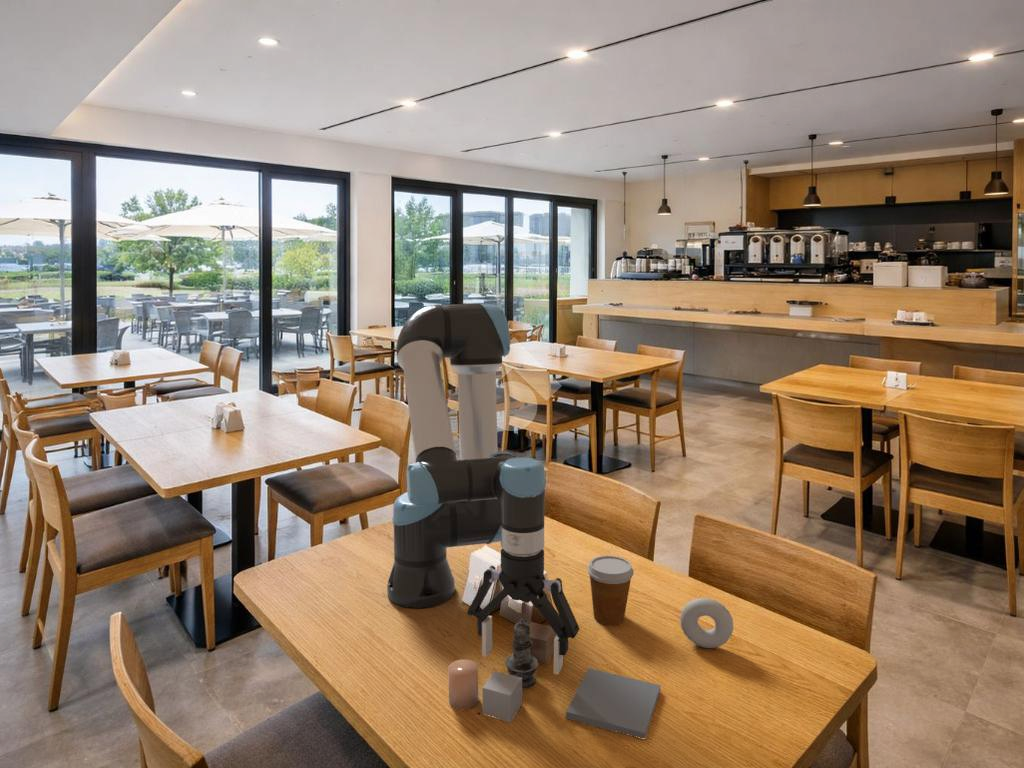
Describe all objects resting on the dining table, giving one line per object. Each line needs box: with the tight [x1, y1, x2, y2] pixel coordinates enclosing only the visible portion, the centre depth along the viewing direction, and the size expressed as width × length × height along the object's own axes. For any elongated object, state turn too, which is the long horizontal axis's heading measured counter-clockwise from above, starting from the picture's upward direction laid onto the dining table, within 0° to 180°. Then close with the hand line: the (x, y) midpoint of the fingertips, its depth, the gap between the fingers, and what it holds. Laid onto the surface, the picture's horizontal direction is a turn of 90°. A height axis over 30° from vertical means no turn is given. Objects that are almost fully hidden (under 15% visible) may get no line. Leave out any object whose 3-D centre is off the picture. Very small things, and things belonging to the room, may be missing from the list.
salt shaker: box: [504, 618, 539, 690], centre depth 118 cm, size 6×6×12 cm
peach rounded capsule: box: [447, 659, 479, 710], centre depth 113 cm, size 5×5×6 cm
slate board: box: [565, 667, 661, 739], centre depth 112 cm, size 13×13×1 cm
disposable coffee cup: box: [586, 555, 634, 626], centre depth 139 cm, size 10×10×12 cm
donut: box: [679, 597, 735, 649], centre depth 129 cm, size 10×4×10 cm, turn 70°
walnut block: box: [528, 621, 556, 666], centre depth 126 cm, size 5×5×5 cm
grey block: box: [482, 670, 523, 723], centre depth 111 cm, size 5×5×5 cm
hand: (521, 661), depth 118 cm, fingers open, 13 cm apart
